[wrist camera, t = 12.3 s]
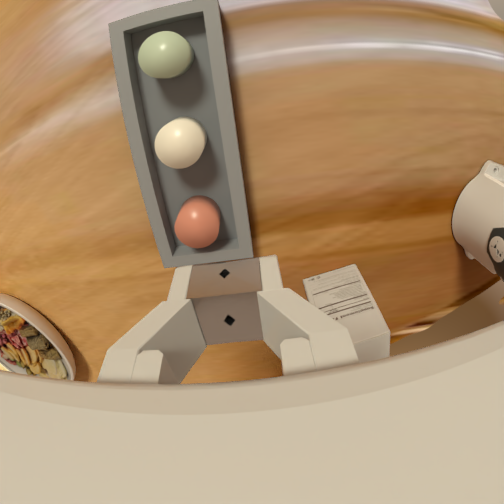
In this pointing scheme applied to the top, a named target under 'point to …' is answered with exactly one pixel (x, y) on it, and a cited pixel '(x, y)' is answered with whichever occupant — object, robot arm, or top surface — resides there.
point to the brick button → (198, 222)
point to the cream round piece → (180, 142)
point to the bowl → (32, 342)
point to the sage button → (165, 55)
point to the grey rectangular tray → (179, 105)
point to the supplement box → (351, 310)
